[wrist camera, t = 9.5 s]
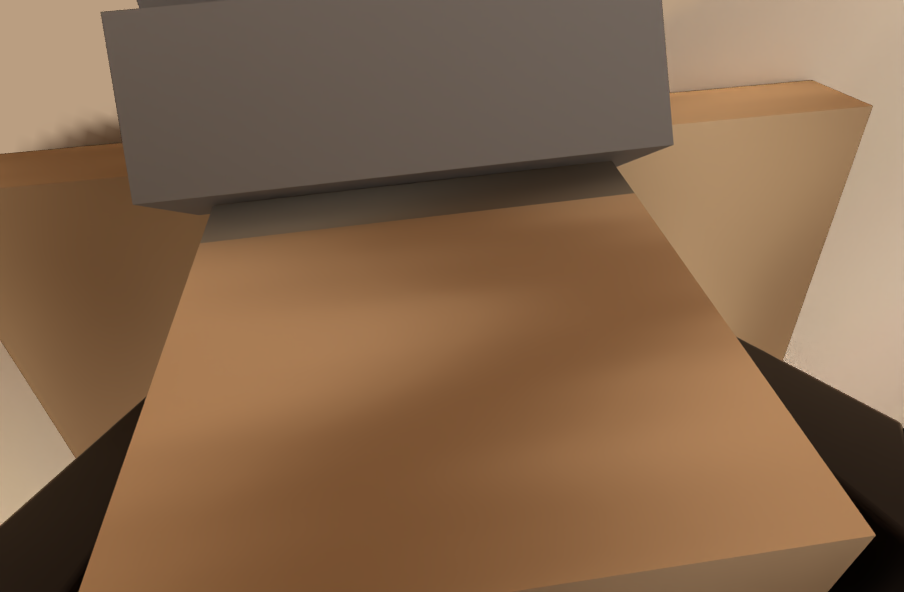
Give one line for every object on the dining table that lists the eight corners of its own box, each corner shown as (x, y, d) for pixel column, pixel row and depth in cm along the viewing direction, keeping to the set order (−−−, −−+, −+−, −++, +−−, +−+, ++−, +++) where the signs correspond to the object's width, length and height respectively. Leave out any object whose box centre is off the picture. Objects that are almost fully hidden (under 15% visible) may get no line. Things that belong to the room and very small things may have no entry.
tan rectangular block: (611, 160, 7) (876, 535, 4) (569, 470, 12) (667, 778, 8) (212, 205, 7) (52, 664, 3) (325, 504, 12) (311, 841, 8)
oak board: (812, 80, 10) (872, 105, 9) (651, 639, 22) (668, 683, 20) (-30, 156, 9) (-92, 197, 8) (266, 697, 21) (260, 747, 19)
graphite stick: (599, 29, 8) (658, -39, 6) (612, 168, 9) (672, 144, 7) (176, 70, 8) (101, 12, 6) (198, 215, 8) (133, 204, 6)
